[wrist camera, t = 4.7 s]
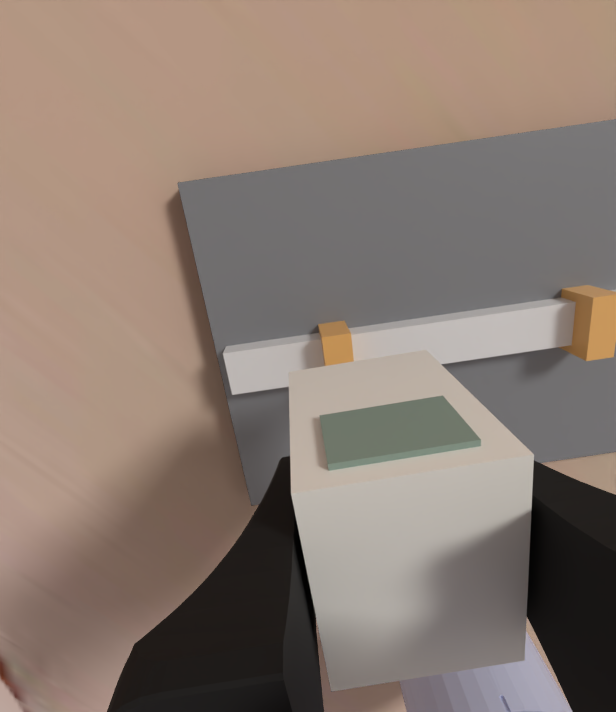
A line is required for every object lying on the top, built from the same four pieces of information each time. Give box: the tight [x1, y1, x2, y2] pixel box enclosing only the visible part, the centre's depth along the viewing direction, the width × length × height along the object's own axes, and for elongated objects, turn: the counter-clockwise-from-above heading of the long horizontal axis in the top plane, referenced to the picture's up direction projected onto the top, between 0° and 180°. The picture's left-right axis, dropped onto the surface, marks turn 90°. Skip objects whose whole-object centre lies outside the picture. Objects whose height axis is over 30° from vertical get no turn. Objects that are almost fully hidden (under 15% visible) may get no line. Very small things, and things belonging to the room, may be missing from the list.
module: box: [289, 350, 534, 692], centre depth 11 cm, size 6×4×6 cm
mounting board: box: [178, 119, 616, 506], centre depth 18 cm, size 16×22×3 cm
